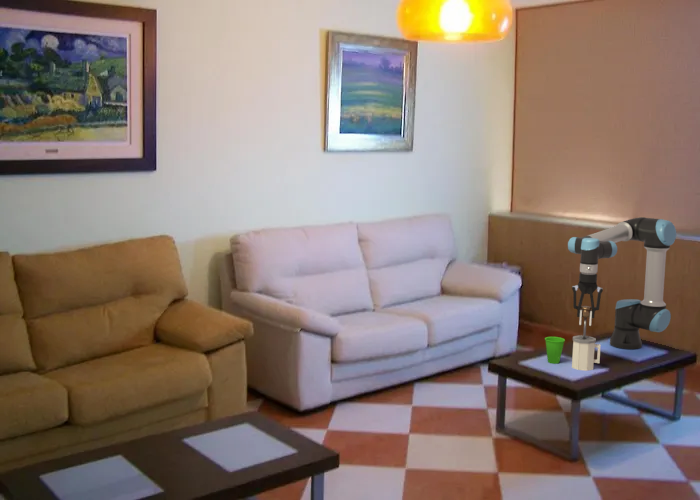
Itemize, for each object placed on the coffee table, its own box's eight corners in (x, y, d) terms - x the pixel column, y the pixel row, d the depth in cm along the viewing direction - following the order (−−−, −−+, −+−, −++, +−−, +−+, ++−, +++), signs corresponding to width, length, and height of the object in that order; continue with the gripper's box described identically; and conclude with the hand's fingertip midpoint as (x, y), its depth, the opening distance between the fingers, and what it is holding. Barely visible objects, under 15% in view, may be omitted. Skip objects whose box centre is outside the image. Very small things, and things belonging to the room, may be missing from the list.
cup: (562, 360, 379) (563, 337, 378) (565, 365, 370) (566, 342, 369) (542, 359, 380) (543, 336, 378) (544, 364, 371) (546, 341, 369)
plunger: (583, 352, 371) (586, 305, 368) (593, 355, 366) (596, 307, 363) (573, 353, 368) (576, 306, 365) (583, 357, 363) (586, 309, 360)
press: (571, 363, 374) (572, 334, 372) (598, 365, 371) (600, 337, 369) (571, 369, 364) (572, 340, 362) (599, 372, 361) (601, 342, 359)
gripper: (568, 273, 360) (565, 325, 363) (608, 275, 356) (604, 328, 359) (568, 270, 367) (565, 321, 371) (607, 272, 363) (604, 324, 366)
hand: (585, 324), depth 365 cm, fingers closed on plunger, 4 cm apart
